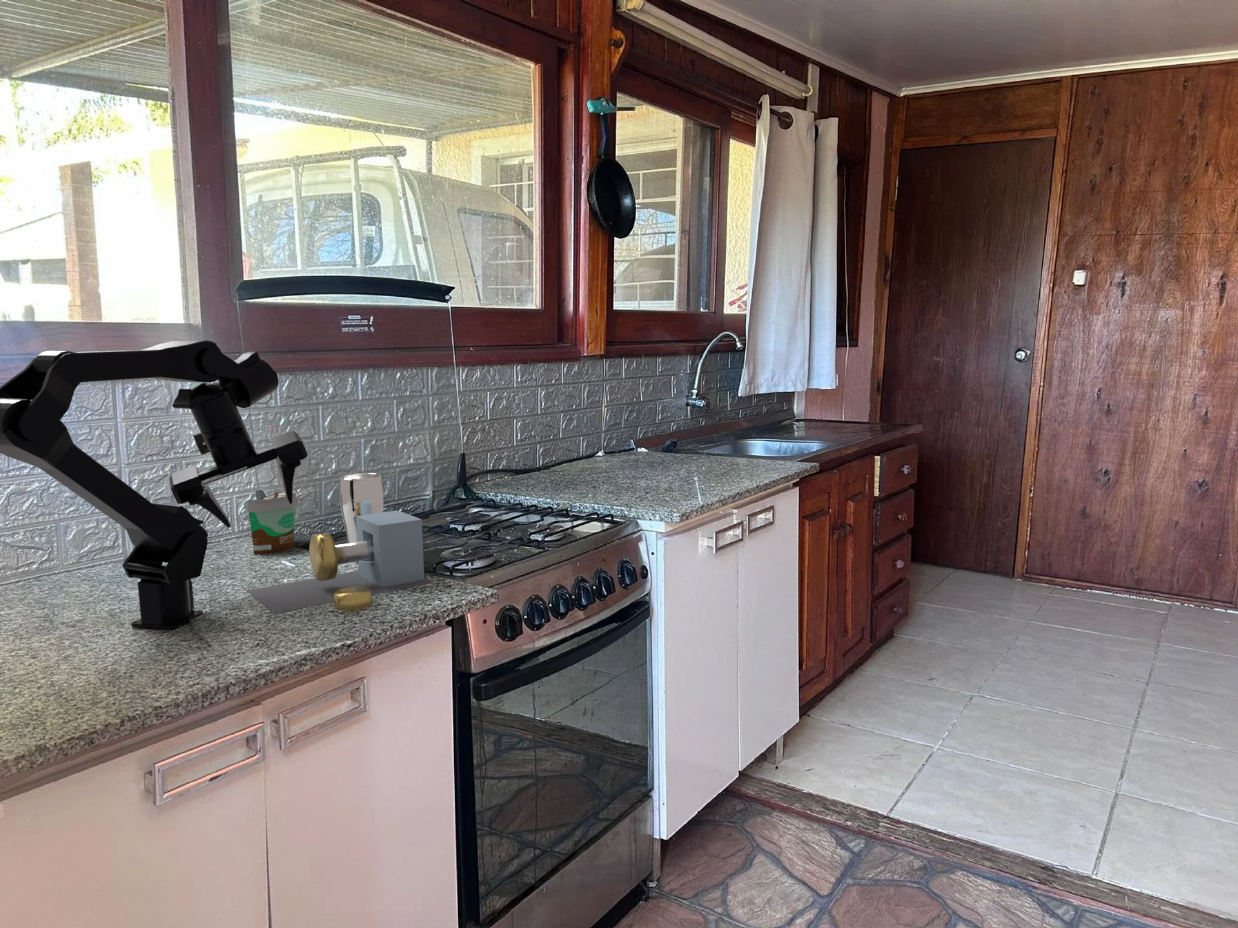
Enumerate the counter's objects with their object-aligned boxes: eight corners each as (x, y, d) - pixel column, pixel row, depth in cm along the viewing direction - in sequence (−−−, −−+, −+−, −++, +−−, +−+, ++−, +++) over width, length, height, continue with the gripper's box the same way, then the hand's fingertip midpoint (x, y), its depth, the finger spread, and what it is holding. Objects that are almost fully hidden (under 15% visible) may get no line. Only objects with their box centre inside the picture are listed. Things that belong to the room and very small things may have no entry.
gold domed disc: (361, 615, 121) (360, 597, 120) (328, 613, 122) (327, 595, 121) (377, 604, 126) (377, 587, 125) (346, 602, 126) (345, 585, 126)
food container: (285, 556, 152) (281, 500, 151) (250, 556, 152) (246, 500, 151) (311, 540, 164) (308, 488, 163) (278, 540, 164) (275, 488, 163)
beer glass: (392, 557, 151) (388, 472, 149) (377, 568, 144) (373, 479, 142) (353, 557, 152) (349, 472, 149) (336, 567, 145) (331, 479, 142)
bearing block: (381, 587, 132) (378, 525, 130) (359, 574, 139) (355, 516, 137) (424, 579, 136) (421, 519, 135) (400, 567, 143) (397, 510, 142)
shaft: (327, 585, 128) (324, 539, 127) (311, 575, 133) (308, 531, 132) (421, 568, 137) (419, 525, 136) (402, 559, 142) (400, 517, 141)
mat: (274, 616, 120) (274, 613, 120) (246, 592, 131) (245, 590, 131) (433, 584, 134) (433, 582, 134) (396, 566, 145) (396, 563, 145)
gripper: (276, 385, 134) (310, 472, 141) (148, 428, 127) (191, 516, 135) (289, 407, 125) (325, 498, 132) (153, 454, 118) (198, 547, 126)
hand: (260, 514), depth 131 cm, fingers open, 9 cm apart
